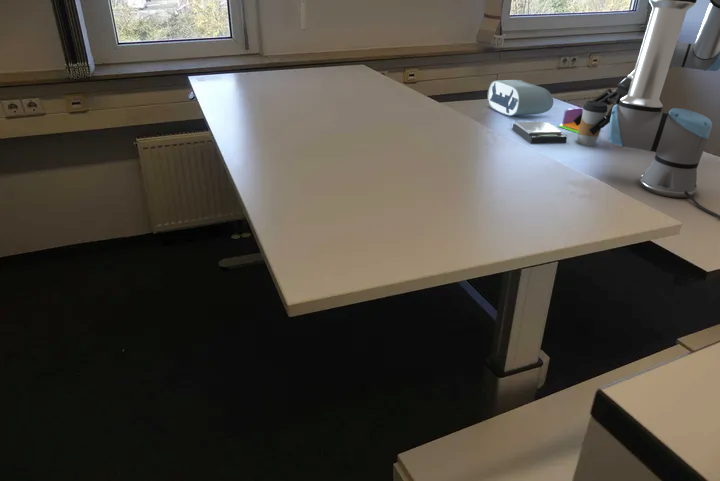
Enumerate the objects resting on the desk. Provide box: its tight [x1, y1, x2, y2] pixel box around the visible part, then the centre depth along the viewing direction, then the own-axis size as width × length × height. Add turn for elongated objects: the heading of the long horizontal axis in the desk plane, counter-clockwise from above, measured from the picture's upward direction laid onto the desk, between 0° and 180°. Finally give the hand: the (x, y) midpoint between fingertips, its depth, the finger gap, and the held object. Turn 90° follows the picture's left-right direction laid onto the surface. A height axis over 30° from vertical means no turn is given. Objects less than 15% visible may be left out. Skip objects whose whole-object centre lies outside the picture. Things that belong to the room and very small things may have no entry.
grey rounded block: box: [486, 79, 554, 117], centre depth 230 cm, size 22×19×13 cm
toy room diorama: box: [558, 107, 583, 134], centre depth 213 cm, size 12×12×7 cm
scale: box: [511, 121, 568, 145], centre depth 203 cm, size 17×14×3 cm
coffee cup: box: [577, 100, 609, 147], centre depth 194 cm, size 8×8×15 cm
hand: (582, 127), depth 195 cm, fingers open, 10 cm apart
